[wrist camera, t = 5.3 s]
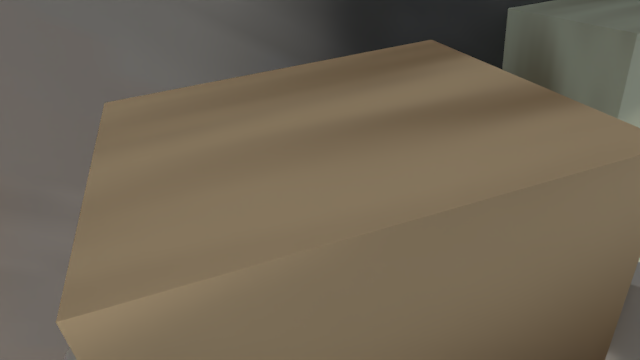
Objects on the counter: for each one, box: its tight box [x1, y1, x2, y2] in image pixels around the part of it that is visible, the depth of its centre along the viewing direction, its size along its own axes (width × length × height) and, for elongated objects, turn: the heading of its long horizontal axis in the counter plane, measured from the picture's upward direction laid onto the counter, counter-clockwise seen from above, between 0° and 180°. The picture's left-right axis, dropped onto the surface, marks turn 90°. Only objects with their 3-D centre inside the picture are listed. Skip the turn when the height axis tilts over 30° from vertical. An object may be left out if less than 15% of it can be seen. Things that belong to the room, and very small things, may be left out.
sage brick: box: [502, 0, 640, 262], centre depth 16 cm, size 8×6×5 cm
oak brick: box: [56, 40, 640, 360], centre depth 8 cm, size 8×6×5 cm
